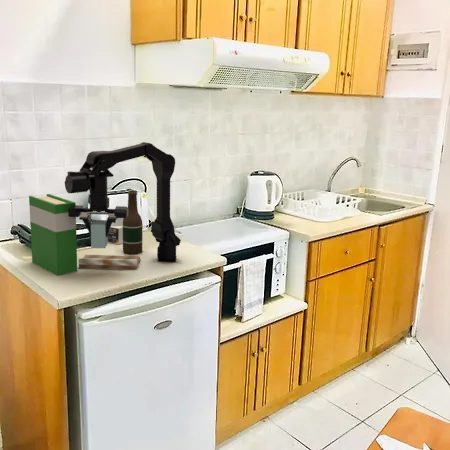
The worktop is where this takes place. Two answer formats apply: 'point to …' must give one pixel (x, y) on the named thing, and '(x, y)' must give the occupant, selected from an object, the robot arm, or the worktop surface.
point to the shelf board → (109, 262)
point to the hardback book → (53, 234)
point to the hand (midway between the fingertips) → (99, 236)
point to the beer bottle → (132, 227)
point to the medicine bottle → (116, 232)
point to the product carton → (98, 234)
